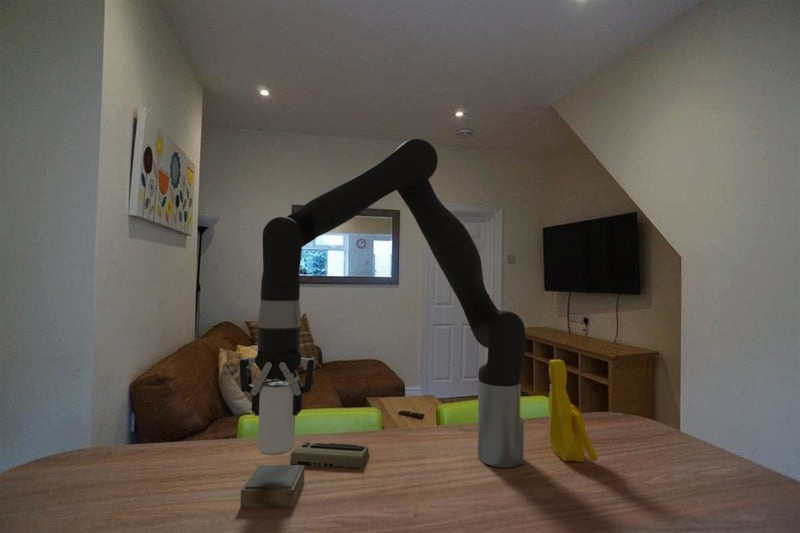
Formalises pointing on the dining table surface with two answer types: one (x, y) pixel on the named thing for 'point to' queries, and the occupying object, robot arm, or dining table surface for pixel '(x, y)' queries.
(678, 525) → the dining table surface
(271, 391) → the can
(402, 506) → the dining table surface
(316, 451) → the computer
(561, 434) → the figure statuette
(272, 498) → the stand
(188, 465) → the dining table surface
